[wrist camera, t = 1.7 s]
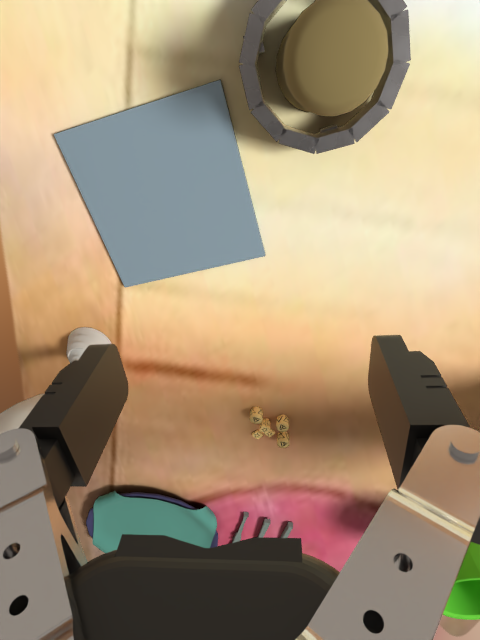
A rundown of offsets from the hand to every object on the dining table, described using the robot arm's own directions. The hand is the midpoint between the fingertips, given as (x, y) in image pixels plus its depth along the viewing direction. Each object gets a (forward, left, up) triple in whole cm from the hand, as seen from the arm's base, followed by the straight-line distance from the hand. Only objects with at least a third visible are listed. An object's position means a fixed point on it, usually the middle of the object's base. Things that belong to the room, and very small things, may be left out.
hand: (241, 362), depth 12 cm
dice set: (+5, +27, -25) cm, 37 cm away
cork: (-6, -7, -24) cm, 26 cm away
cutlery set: (+23, +47, -24) cm, 58 cm away
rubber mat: (+8, -1, -24) cm, 25 cm away
